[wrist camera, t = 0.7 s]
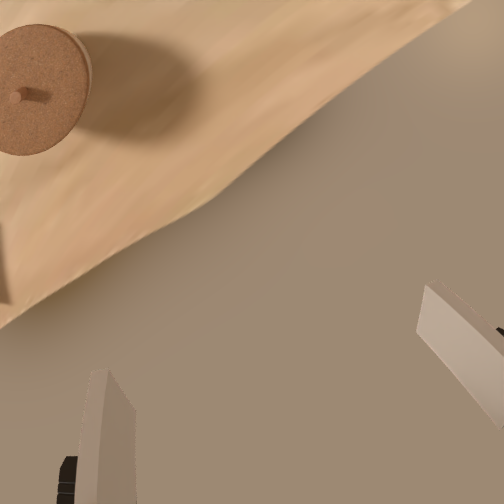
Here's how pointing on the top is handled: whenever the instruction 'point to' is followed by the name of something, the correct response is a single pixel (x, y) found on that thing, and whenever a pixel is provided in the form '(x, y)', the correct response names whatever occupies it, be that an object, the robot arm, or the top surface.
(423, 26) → the top surface
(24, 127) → the lidded jar
